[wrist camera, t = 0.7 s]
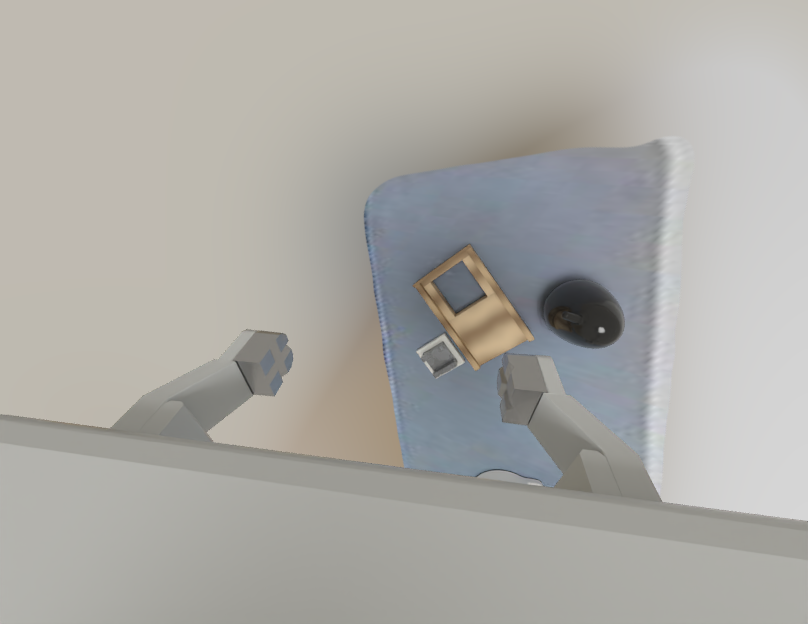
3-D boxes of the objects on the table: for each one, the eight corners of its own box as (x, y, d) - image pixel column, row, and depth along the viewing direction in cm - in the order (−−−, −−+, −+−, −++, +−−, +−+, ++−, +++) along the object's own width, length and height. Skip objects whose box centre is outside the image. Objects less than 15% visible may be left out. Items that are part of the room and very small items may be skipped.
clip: (457, 361, 58) (456, 366, 55) (437, 372, 60) (435, 378, 57) (443, 341, 57) (441, 345, 55) (422, 353, 59) (420, 358, 57)
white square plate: (464, 360, 59) (464, 362, 58) (436, 375, 61) (436, 378, 60) (444, 332, 58) (444, 334, 57) (417, 349, 61) (416, 351, 59)
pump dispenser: (555, 266, 50) (587, 280, 36) (615, 289, 49) (672, 314, 35) (527, 317, 54) (545, 349, 39) (582, 341, 52) (621, 382, 38)
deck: (530, 332, 54) (535, 340, 50) (475, 362, 58) (475, 372, 54) (469, 243, 53) (469, 244, 48) (417, 281, 57) (412, 285, 53)
